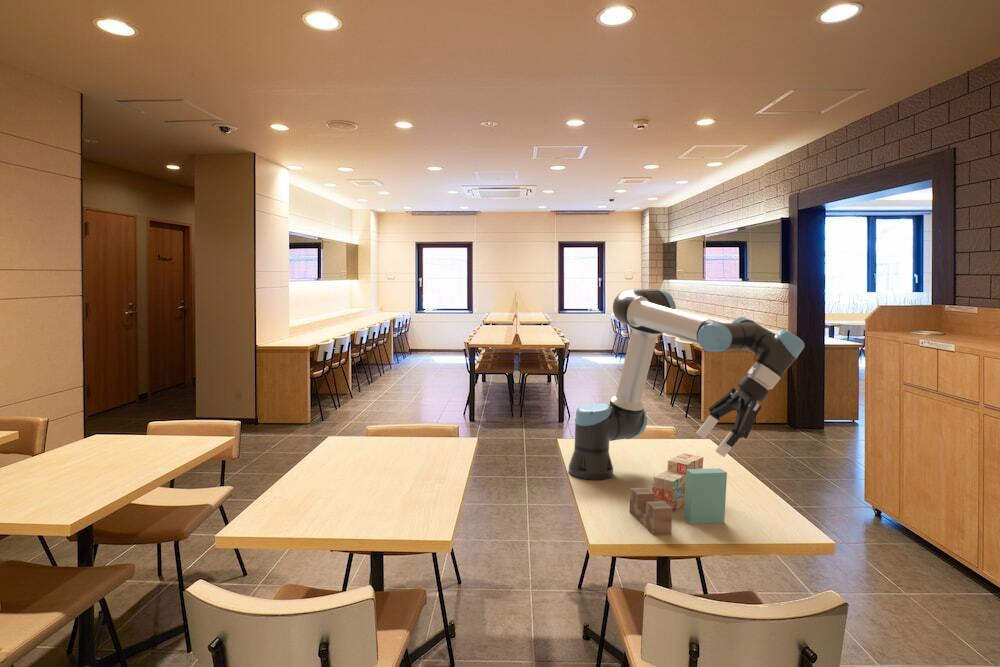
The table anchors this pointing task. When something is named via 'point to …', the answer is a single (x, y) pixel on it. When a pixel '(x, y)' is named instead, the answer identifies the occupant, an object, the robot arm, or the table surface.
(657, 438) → the table surface
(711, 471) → the rectangular block
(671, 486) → the stack of blocks
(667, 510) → the staggered wooden block
